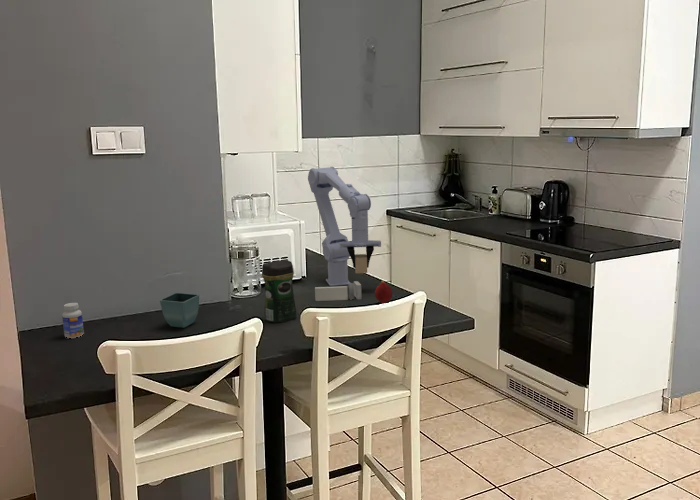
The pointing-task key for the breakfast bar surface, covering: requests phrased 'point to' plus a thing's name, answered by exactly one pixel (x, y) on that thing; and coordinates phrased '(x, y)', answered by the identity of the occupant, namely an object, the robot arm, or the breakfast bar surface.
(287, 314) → the coffee jar
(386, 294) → the onion
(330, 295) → the grey rectangular bar
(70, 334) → the pill bottle
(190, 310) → the flower pot
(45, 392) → the breakfast bar surface
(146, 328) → the breakfast bar surface
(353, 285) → the grey boxy piece
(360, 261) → the rubber block
